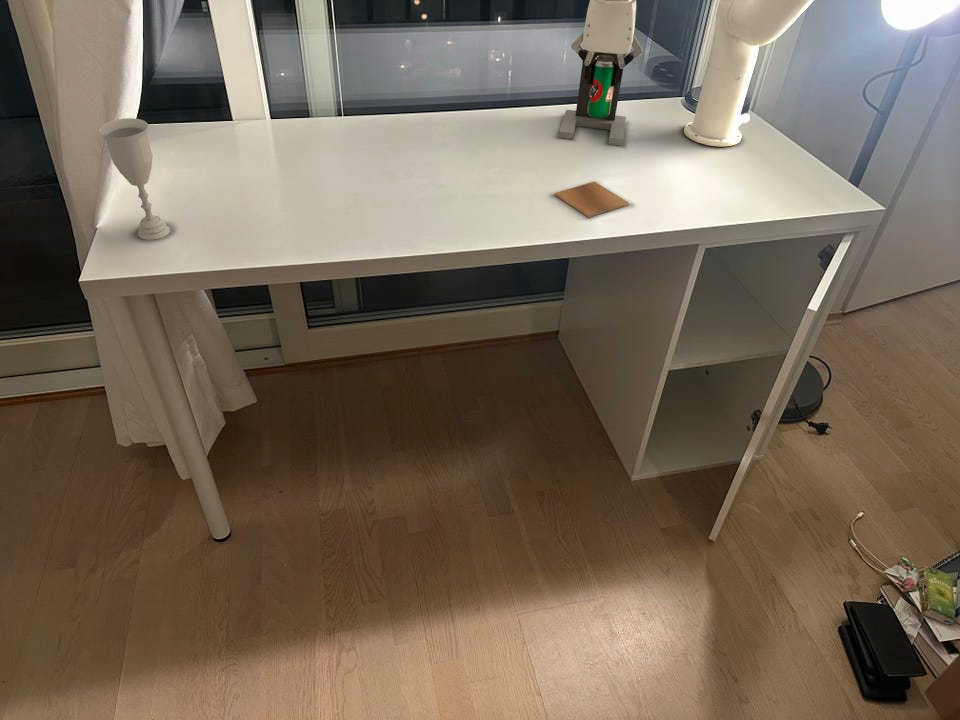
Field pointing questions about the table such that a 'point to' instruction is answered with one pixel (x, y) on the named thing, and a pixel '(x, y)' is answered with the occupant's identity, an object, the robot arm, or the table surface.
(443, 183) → the table surface
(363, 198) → the table surface
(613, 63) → the soda can
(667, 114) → the table surface
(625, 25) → the robot arm
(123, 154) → the chalice
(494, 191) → the table surface
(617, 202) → the mat
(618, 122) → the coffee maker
